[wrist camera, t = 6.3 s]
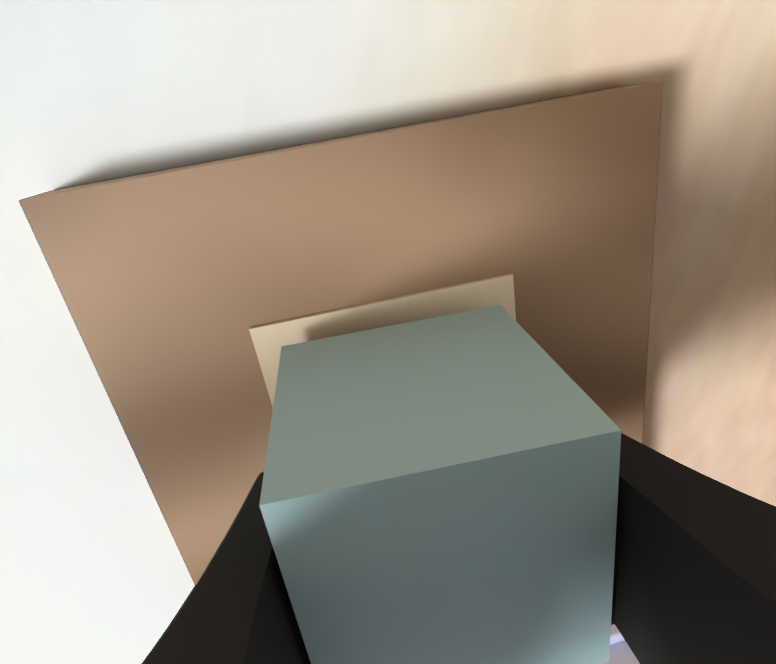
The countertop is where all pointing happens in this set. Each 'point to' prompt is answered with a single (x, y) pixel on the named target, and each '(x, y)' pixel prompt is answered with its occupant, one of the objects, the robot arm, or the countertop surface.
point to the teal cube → (442, 497)
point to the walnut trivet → (353, 272)
